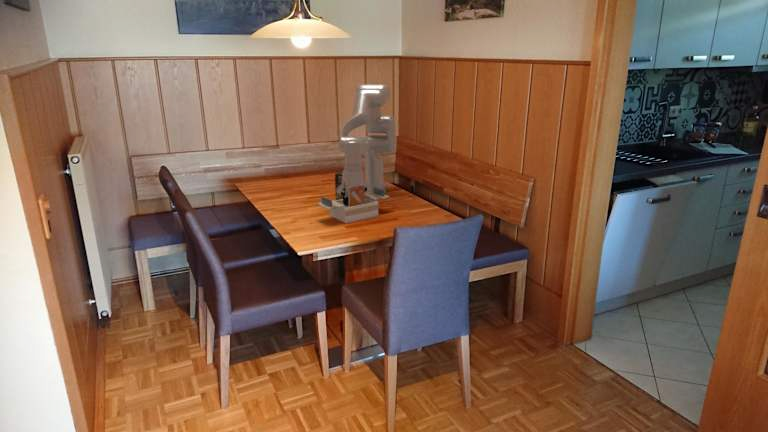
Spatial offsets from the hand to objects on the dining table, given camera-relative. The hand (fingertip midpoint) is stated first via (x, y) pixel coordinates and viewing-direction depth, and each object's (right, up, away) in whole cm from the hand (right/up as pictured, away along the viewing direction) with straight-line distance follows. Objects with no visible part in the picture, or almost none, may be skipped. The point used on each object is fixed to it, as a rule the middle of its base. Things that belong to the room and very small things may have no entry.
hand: (353, 203), depth 239 cm
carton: (0, -6, +2) cm, 6 cm away
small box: (0, -4, +1) cm, 4 cm away
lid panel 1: (-10, -1, -8) cm, 13 cm away
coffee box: (-5, 0, +22) cm, 22 cm away
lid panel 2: (+10, +3, +7) cm, 12 cm away
